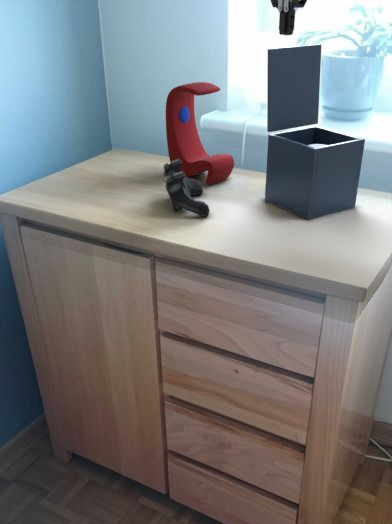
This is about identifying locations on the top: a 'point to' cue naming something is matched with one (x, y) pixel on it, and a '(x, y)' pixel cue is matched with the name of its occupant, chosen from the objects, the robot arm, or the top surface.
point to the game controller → (183, 189)
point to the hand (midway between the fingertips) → (286, 34)
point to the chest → (313, 171)
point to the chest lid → (293, 87)
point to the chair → (192, 135)
